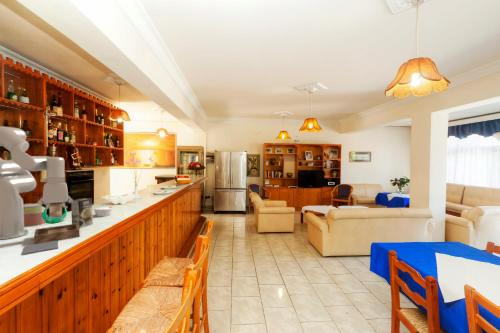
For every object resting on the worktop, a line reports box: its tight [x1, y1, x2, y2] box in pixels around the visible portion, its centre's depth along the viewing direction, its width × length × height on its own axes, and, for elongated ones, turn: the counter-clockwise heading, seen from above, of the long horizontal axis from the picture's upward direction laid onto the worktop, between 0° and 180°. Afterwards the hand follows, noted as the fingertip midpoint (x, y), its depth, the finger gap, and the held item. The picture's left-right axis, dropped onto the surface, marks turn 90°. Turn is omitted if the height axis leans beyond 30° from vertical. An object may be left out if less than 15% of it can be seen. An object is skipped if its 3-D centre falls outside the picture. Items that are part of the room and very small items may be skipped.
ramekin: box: [93, 206, 113, 218], centre depth 177 cm, size 11×11×5 cm
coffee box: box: [70, 197, 94, 229], centre depth 150 cm, size 9×6×16 cm
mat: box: [22, 240, 59, 256], centre depth 115 cm, size 12×12×1 cm
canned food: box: [23, 202, 47, 228], centre depth 154 cm, size 11×11×12 cm
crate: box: [33, 223, 81, 245], centre depth 130 cm, size 18×14×4 cm
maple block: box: [49, 203, 63, 220], centre depth 129 cm, size 5×5×6 cm
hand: (55, 215), depth 130 cm, fingers closed on maple block, 5 cm apart
